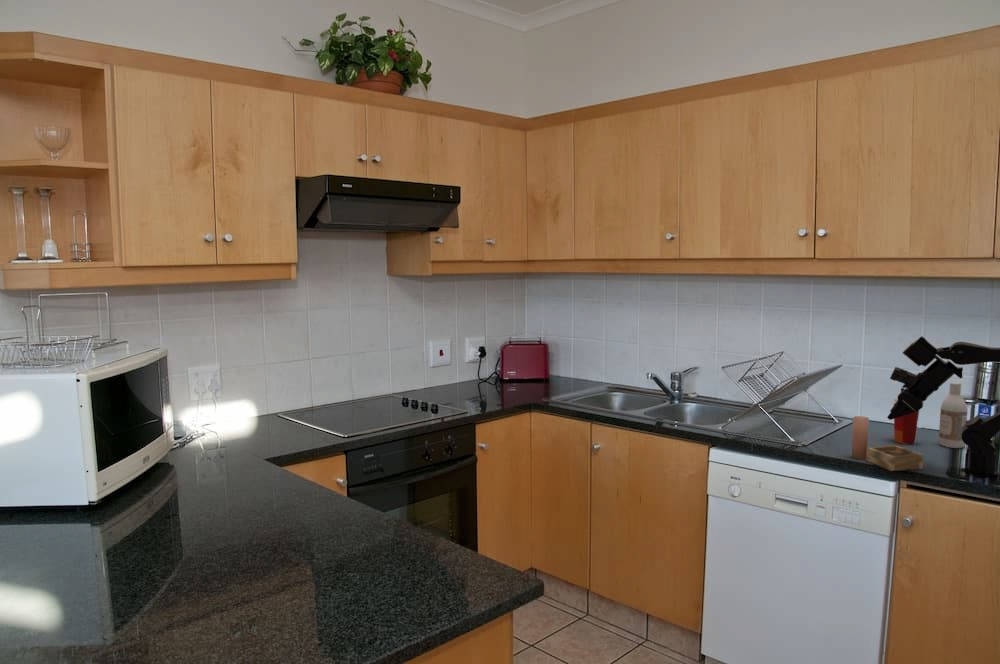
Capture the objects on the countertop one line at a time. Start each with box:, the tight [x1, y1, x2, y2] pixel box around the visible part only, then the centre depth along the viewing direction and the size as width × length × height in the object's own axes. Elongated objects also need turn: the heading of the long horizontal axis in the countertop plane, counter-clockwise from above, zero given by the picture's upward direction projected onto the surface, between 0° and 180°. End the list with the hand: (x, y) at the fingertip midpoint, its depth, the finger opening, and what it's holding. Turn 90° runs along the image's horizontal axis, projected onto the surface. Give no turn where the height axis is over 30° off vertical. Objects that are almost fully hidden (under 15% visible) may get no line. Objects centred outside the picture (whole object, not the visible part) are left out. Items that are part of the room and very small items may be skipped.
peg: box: [851, 415, 870, 460], centre depth 209 cm, size 4×4×12 cm
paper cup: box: [892, 397, 920, 445], centre depth 225 cm, size 8×8×14 cm
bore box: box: [865, 445, 924, 472], centre depth 202 cm, size 10×10×4 cm
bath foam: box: [938, 381, 968, 449], centre depth 220 cm, size 7×7×20 cm
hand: (890, 415), depth 204 cm, fingers open, 9 cm apart
